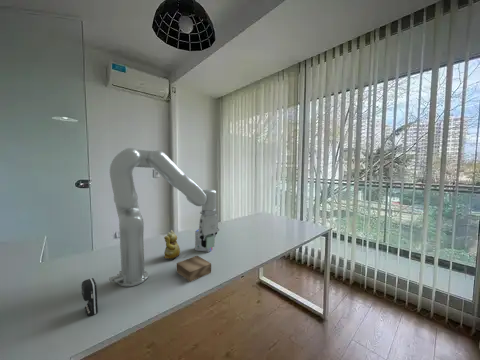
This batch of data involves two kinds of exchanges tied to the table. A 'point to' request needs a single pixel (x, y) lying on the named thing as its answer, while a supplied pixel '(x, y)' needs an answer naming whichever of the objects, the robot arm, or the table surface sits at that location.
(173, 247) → the decorative figurine
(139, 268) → the robot arm
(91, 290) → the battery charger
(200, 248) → the ink cartridge box
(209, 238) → the sage block
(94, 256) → the table surface
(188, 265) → the walnut block
